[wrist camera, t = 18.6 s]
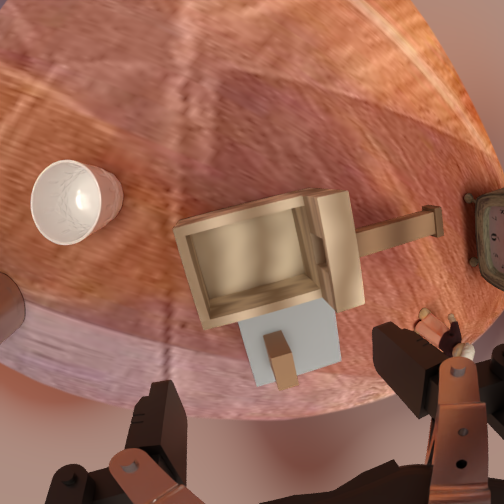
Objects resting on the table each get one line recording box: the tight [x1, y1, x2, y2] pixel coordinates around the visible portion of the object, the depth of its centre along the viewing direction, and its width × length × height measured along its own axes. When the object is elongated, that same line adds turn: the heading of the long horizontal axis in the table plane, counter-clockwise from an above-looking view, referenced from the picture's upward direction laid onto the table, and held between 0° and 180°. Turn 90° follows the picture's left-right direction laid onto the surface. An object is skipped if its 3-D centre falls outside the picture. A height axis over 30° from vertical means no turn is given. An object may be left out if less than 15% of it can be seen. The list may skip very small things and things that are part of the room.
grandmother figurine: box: [414, 308, 475, 360], centre depth 39 cm, size 8×4×13 cm, turn 1°
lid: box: [238, 298, 341, 391], centre depth 39 cm, size 13×11×7 cm
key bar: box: [355, 205, 444, 257], centre depth 31 cm, size 12×3×2 cm, turn 104°
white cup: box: [31, 160, 124, 245], centre depth 30 cm, size 8×8×10 cm
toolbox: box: [173, 188, 365, 330], centre depth 33 cm, size 16×11×11 cm
